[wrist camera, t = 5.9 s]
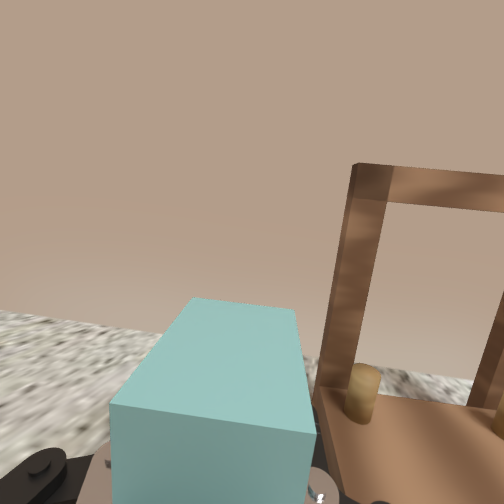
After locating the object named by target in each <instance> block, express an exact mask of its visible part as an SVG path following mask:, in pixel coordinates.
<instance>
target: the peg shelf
mask: <svg viewBox="0 0 504 504" xmlns="http://www.w3.org/2000/svg"><path fill="white" fill-rule="evenodd" d="M387 202H396V203H407V204H417V205H427V206H438V207H449V208H459V209H470V210H480V211H490V212H501V213H504V175H494V174H483V173H471V172H460V171H448V170H437V169H426V168H415V167H402V166H392V165H380V164H369V163H357V164H354V165H353V166H352V171H351V177H350V183H349V189H348V194H347V201H346V206H345V212H344V218H343V224H342V230H341V235H340V241H339V247H338V253H337V259H336V264H335V270H334V276H333V282H332V287H331V294H330V299H329V305H328V311H327V317H326V323H325V328H324V334H323V340H322V346H321V351H320V357H319V363H318V369H317V375H316V380H315V386H314V392H313V398H312V405H313V406H314V408H315V409H316V411H317V415H318V420H319V425H320V429H321V434H322V439H323V444H324V449H325V454H326V459H327V464H328V469H329V473H330V476H331V478H332V479H333V480H334V482H335V484H336V486H337V487H338V488H339V490H340V491H341V492H343V493H344V494H345V495H346V496H348V497H349V498H351V499H353V500H355V501H357V502H358V503H360V504H371V503H372V502H374V501H385V502H388V503H390V504H504V292H503V295H502V299H501V302H500V305H499V308H498V311H497V314H496V317H495V320H494V323H493V326H492V329H491V332H490V335H489V338H488V341H487V344H486V347H485V350H484V353H483V356H482V359H481V362H480V365H479V368H478V371H477V374H476V377H475V380H474V383H473V386H472V389H471V392H470V395H469V398H468V401H467V404H466V406H461V405H454V404H446V403H439V402H432V401H425V400H417V399H410V398H403V397H395V396H388V395H381V394H377V393H378V389H379V384H380V380H381V374H380V373H379V372H378V371H377V370H376V369H375V368H373V367H372V366H369V365H367V364H363V363H357V364H354V359H355V354H356V349H357V345H358V340H359V335H360V330H361V325H362V320H363V316H364V311H365V306H366V301H367V296H368V292H369V287H370V282H371V276H372V272H373V267H374V262H375V257H376V253H377V248H378V243H379V238H380V233H381V228H382V224H383V219H384V214H385V209H386V204H387ZM353 364H354V365H353Z"/></svg>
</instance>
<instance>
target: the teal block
mask: <svg viewBox="0 0 504 504" xmlns="http://www.w3.org/2000/svg"><path fill="white" fill-rule="evenodd" d="M109 411H110V442H111V473H112V504H304V500H305V495H306V489H307V484H308V479H309V473H310V468H311V462H312V457H313V452H314V446H315V441H316V436H317V433H316V427H315V422H314V416H313V411H312V405H311V400H310V394H309V389H308V383H307V378H306V372H305V367H304V361H303V356H302V351H301V345H300V339H299V334H298V328H297V323H296V318H295V312H294V310H292V309H284V308H276V307H268V306H260V305H251V304H242V303H235V302H226V301H219V300H210V299H203V298H195V297H193V298H192V299H191V300H190V301H189V303H188V304H187V305H186V306H185V308H184V309H183V310H182V311H181V313H180V314H179V315H178V317H177V318H176V319H175V321H174V322H173V323H172V324H171V325H170V327H169V328H168V329H167V330H166V332H165V333H164V334H163V336H162V337H161V338H160V339H159V341H158V342H157V343H156V344H155V346H154V347H153V348H152V350H151V351H150V352H149V353H148V355H147V356H146V357H145V358H144V360H143V361H142V362H141V363H140V365H139V366H138V367H137V369H136V370H135V371H134V372H133V374H132V375H131V376H130V377H129V379H128V380H127V381H126V382H125V384H124V385H123V386H122V388H121V389H120V390H119V391H118V393H117V394H116V395H115V396H114V398H113V399H112V400H111V402H110V403H109Z"/></svg>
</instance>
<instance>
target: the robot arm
mask: <svg viewBox="0 0 504 504" xmlns="http://www.w3.org/2000/svg"><path fill="white" fill-rule="evenodd" d="M311 405H312V403H311ZM312 411H313V416H314V422H315V427H316V433H317V436H316V441H315V446H314V452H313V457H312V462H311V468H310V473H309V479H308V484H307V489H306V495H305V500H304V504H360V503H358V502H357V501H355V500H353V499H351V498H349V497H348V496H346V495H345V494H344V493H343V492H341V491H340V490H339V488H338V487H337V486H336V484H335V482H334V480H333V479H332V478H331V476H330V473H329V469H328V464H327V459H326V454H325V449H324V444H323V439H322V434H321V429H320V425H319V420H318V415H317V411H316V409H315V408H314V406H313V405H312ZM0 504H112V473H111V442H110V441H108V442H107V443H105V444H104V445H102V446H101V447H100V448H99V449H98V450H97V451H96V453H95V454H92V455H89V456H83V457H77V458H71V459H66V453H65V452H64V451H63V450H62V449H60V448H47V449H44V450H41V451H38V452H36V453H34V454H33V455H31V456H30V457H28V458H27V459H26V460H24V461H23V462H22V463H20V464H19V465H18V466H17V467H15V468H14V469H13V470H12V471H10V472H9V473H8V474H7V475H5V476H4V477H3V478H2V479H0ZM371 504H390V503H388V502H385V501H374V502H372V503H371Z"/></svg>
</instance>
